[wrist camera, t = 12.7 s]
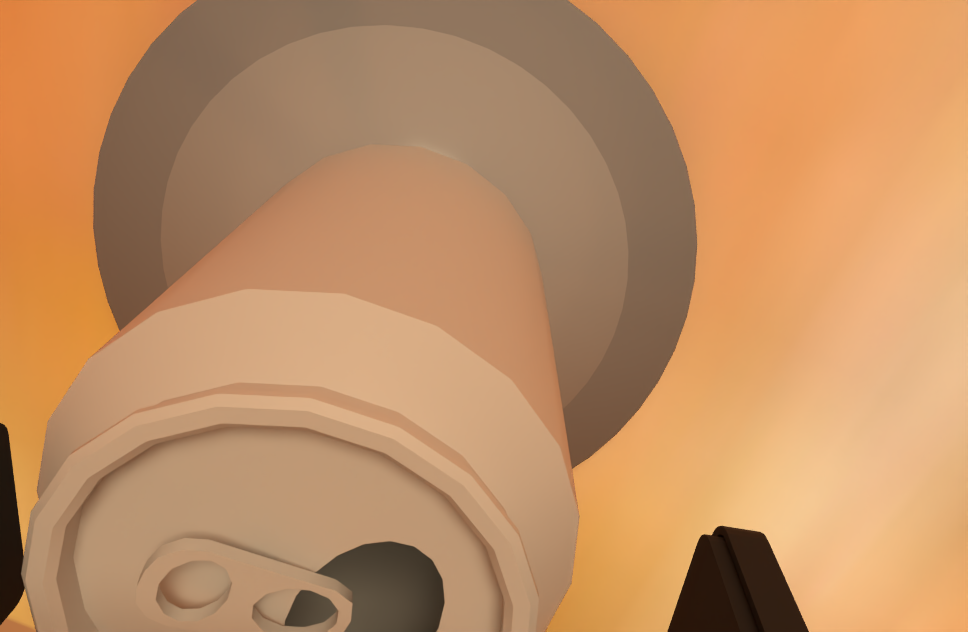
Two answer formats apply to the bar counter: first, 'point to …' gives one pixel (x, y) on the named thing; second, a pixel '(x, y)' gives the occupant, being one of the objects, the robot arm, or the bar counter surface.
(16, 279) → the bar counter surface
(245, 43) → the dish
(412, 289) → the can
